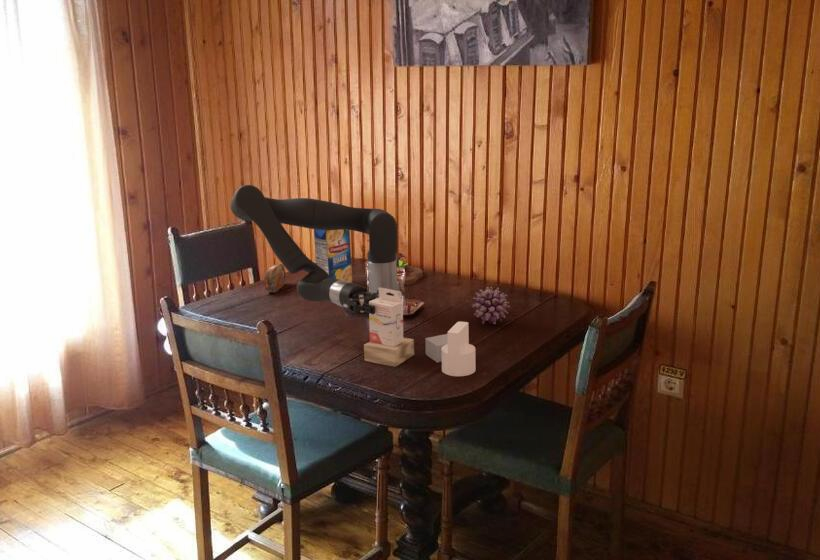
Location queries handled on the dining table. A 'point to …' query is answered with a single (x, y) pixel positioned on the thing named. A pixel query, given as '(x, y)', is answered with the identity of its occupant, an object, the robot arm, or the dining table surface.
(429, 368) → the dining table surface
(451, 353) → the base with upright slab
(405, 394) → the dining table surface
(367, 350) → the beech block
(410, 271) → the plant
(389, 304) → the ink cartridge box
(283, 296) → the dining table surface
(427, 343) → the slate block
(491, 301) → the purple spiky ball
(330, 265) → the beverage box
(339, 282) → the robot arm
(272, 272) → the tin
